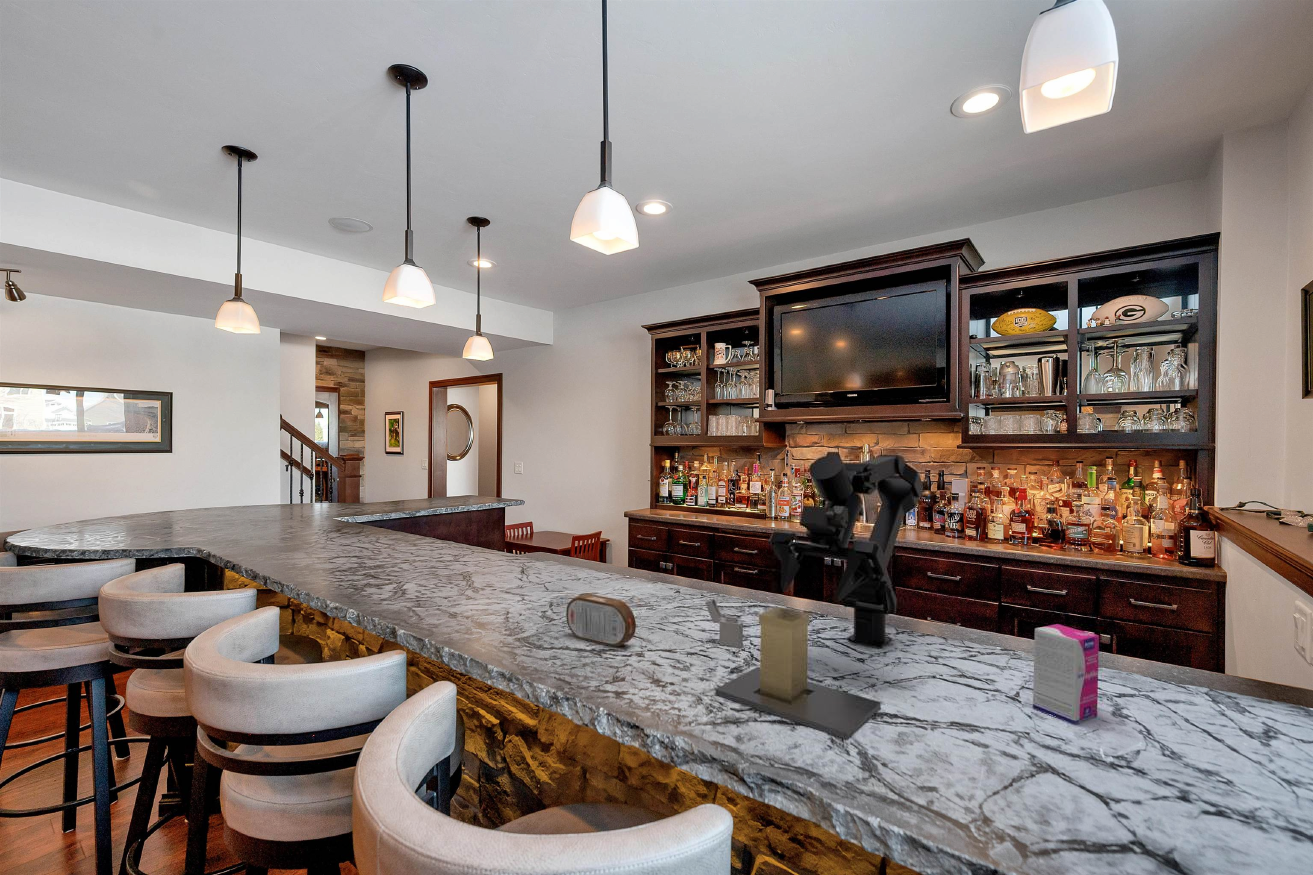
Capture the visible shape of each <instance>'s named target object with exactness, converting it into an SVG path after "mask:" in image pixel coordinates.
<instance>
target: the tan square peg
mask: <svg viewBox="0 0 1313 875" xmlns="http://www.w3.org/2000/svg"><path fill="white" fill-rule="evenodd" d="M810 615H811V614H810V613H808V612H804V611H798V610H793V609H787V608H783V607H778V606H776V607H774V608H771V609H769V610H767V611H764V612H761V613H759V614H758V623H759V624H760V665H759V666H760V694H759V695H762V696H765V697H768V698H771V699H775V700H778V701H781V702H784V703H787V704H790V705H793V706H794V705H796V704H797V703H798V702H800V701H801V700H803V699H804V698H806V697H807V696H808V694H807V681H808V652H809V651H808V645H809V644H808V641H809V640H808V638H809V636H808V633H809V632H808V631H809V630H808V629H809V626H808V624H809V623H810V617H811V616H810Z"/></svg>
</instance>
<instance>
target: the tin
mask: <svg viewBox="0 0 1313 875" xmlns="http://www.w3.org/2000/svg"><path fill="white" fill-rule="evenodd" d="M565 615H566V616H565V617H566V622H567V627H568V628H569V630H570V631H571V633H572V634H573V635H574V637H577V638H578V639H581V640H584V641H588V642H592V643H595V644H600V645H604V646H608V647H613V648H614V647H615V648H616V647H620V646H622V645H624V644H627V643H628V642H630V641H631V640H632V639H633V638H634V636H635V633H636V630H637V622H636V618H635V615H634V612H633V610H632V608H630V606H629V605H628V604H627V603H626V602H625V601H623V600H621V599H618V598H613V597H607V596H603V595H597V594H592V593H587V592H585V593H581V594H579V595H578V596H575V597H574V598H572V599H571V600H570V601H569V602H568V604H567V606H566V612H565Z"/></svg>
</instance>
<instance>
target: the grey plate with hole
mask: <svg viewBox="0 0 1313 875" xmlns="http://www.w3.org/2000/svg"><path fill="white" fill-rule="evenodd" d="M715 696H719V697H722V698H725V699H727V700H731V701H733V702H736V703H739V704H741V705H744V706H747V707H751V708H753V709H757V710H759V711H763V712H764V713H765V712H766V713H768V714H772V715H774V716H777V717H780V718H783V719H786V720H789V721H792V722H795V723H798V724H799V725H800V724H801V725H803V726H805V727H810V728H812V729H815V730H819V731H822V732H825V733H827V734H830V735H833V736H835V737H838V738H842V739H844V740H848V739H849V738H850V737H851V736H852V735H854V733H855V732H856V731H857V730H859V729H860V728H861V727H862V726H864V724H866V722H867V721H868V720H870V719H871V718H872V716H874V715H875V714H876V713H877V712H878V711H880V709H881V708H882V706H881V704H882V703H881V701H878V700H875V699H871V698H868V697H863V696H860V695H857V694H852V693H850V692H846V691H843V690H839V689H836V688H832V687H828V686H825V685H822V684H819V683H815V682H811V681H809V680H807V697H806V698H804V699H803V700H801V701H800V702H798V703H797V704H796V705H794V706H793V705H790V704H787V703H784V702H781V701H778V700H775V699H771V698H768V697H765V696H762V695H760V667H759V666H756V667H754V668H753V669H751V670H749V671H748V672H745V673H744V674H741V675H740V676H738V677H736V678H734V679H732V680H730V681H728V682H727V683H725V684H723V685H721V686H719V687H717V688H715Z"/></svg>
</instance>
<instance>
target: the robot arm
mask: <svg viewBox="0 0 1313 875" xmlns="http://www.w3.org/2000/svg"><path fill="white" fill-rule="evenodd" d="M808 472H809V475H810V477H811V479H812V481H813V484H814V485H815V488H816V490H817V492H818V494H819V496H820V499H822V500H824V501H826V503H825V505H824V506H817V505H816V506H815V505H814V506H813V505H803V506H802V511H801V515H800V520H799V525H800V527H803V528H804V529H806V531H805V535H806V537H807V539H810V541H801V540H800V539H799V538H798V536H797V535H796V533H795V532H790V531H789V532H788V531H783V530H782V531H781V530H777V531H773V533H772V534H771V535H770V538H769V539H768V543H769V545H770V547H771V549H772V550H773V552H774V554H775V555H776V557H777V559H778V560H779V561H780V563H781V582H780V587H781V590H782V592H787V591H788V589H789V588H790V586H791V585H792V582H793V581H794V578H795V577H796V575H797V573H798V571H799V569H800V567H801V565H800V562H801V561H802V560H803V556H804V555H808V556H815V557H823V558H825V559H830V560H838V561H845V562H846V565H845V566H846V567H845V569H844V572H843V573H842V576H841V578H840V580H839V584H838V587H837V589H836V593H835V596H834V598H835V601H836V602H838V603H840V602H841V601H842V605H843V607H845V608H852V609H853V633H852V634H850V635H849V636H847V637H846V641H848V642H852V643H855V644H856V643H857V644H860V645H865V646H869V647H874V648H877V649H882V648H883V647H885V646H886V645H887V644H889V643H890V642H892V640H893V637H891V636H887V635H886V616H888V615H893V614H894V615H895V614H896V613H897V605H898V604H897V603H898V601H897V600H898V598H897V596H896V594H895V591H894V590H893V586H892V582H891V578H890V576H889V573H888V570H887V568H888V565H889V562H890V559H891V556H892V553H893V550H894V547H895V544H896V541H897V538H898V535H899V532H900V529H901V526H902V522H903V520H904V516H906V514H908V513H909V512H910V511H912V510H914V509H915V508H917V505H918V504H919V500H920V498H922V497H923V493H924V484H923V481H922V478H921V476H920V474H919V472H918V470H916V469H914V468H913V467H912V466H910V464H908V463H907V462H906V461H905V459H904V457H903V456H902V455H899V454H879V455H877V456H875V457H873V458H871V459H868V460H865V461H862V462H847V461H846V462H845V461H843V459H842V458H841V454H840V452H839V451H827V452H826V454H825V455H824V456H821V457H819V458H817V459H816V460H815V461H813V462H812V463H811V464H810V466H809V467H808ZM876 490H877V493H878V496H879V498H880V499H879V500H880V501H881V505H880V508H879V511H878V513H877V515H876V518H875V521H874V524H873V527H872V530H871V533H870V535H869V537H868V540H862V539H861V540H860V539H855V536H856V535H855V533H854V529H855V526H856V522H857V520H858V518H859V517H863V516H864V508H863V507H862V506H863V500H862V498H861V496H860V495H866V496H867V495H868V496H869V495H872V494H873V493H874V492H875V491H876ZM854 539H855V540H854ZM850 541H853V542H852V545H851V547H848V545H849V543H850Z"/></svg>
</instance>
